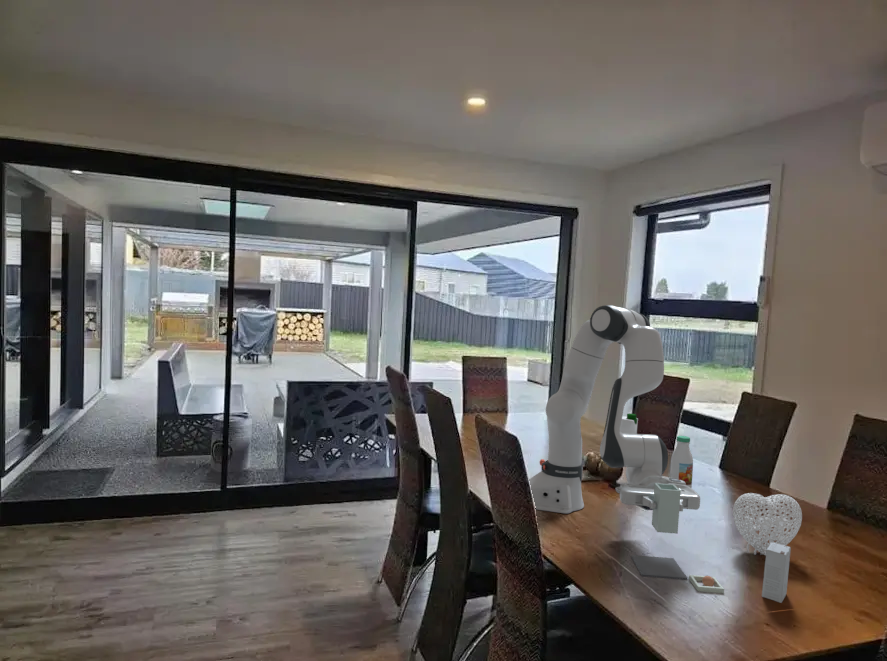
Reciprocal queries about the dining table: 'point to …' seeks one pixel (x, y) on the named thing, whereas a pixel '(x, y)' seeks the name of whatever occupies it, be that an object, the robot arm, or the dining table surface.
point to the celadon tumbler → (666, 508)
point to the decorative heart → (766, 520)
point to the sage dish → (706, 588)
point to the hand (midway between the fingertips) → (667, 507)
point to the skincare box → (776, 572)
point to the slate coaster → (658, 567)
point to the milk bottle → (682, 461)
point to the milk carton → (629, 424)
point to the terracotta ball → (708, 581)
